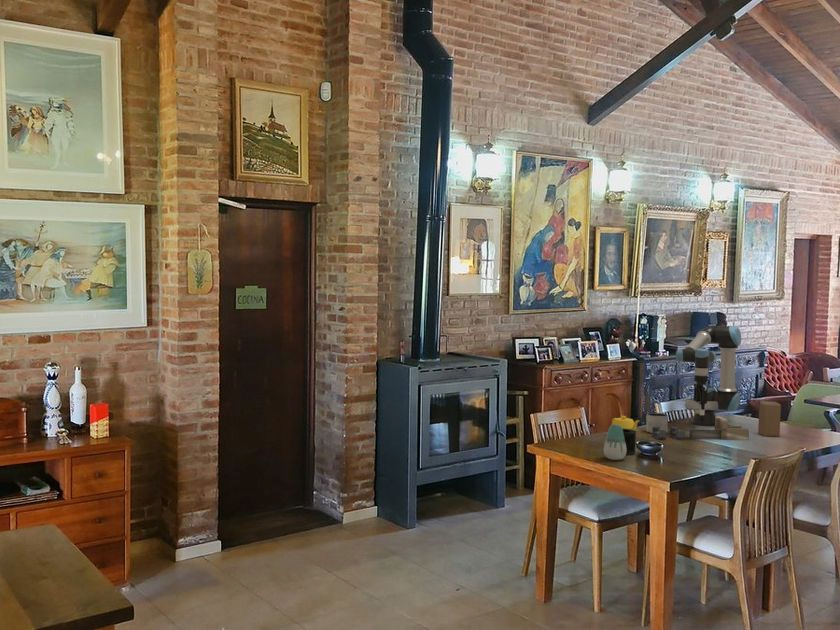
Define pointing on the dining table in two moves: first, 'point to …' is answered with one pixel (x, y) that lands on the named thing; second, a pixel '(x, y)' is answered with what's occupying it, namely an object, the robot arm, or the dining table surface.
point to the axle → (696, 406)
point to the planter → (656, 421)
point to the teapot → (625, 423)
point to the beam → (721, 432)
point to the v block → (662, 433)
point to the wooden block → (769, 418)
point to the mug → (630, 440)
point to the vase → (615, 443)
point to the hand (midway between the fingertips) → (699, 414)
